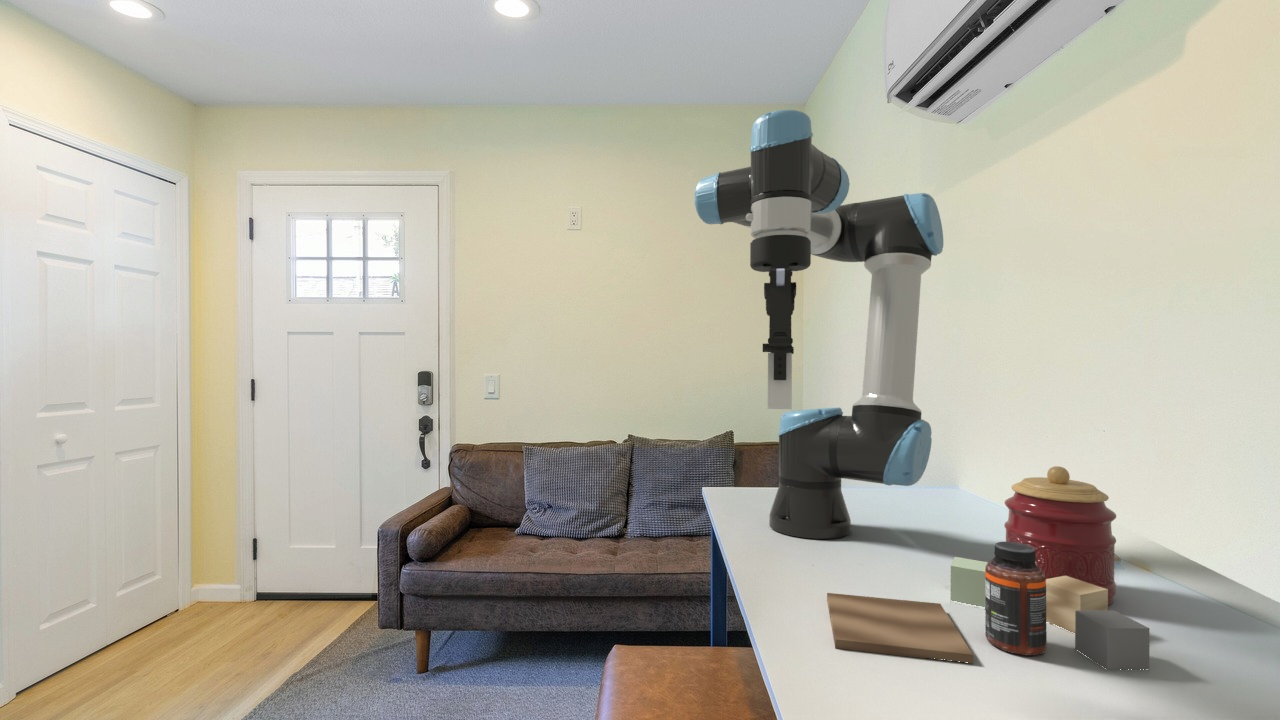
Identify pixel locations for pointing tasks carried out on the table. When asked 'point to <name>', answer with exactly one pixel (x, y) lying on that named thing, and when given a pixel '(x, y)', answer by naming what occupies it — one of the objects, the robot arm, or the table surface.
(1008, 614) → the supplement bottle
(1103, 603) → the beech block
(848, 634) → the plate
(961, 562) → the sage block
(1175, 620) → the table surface
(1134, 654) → the grey block
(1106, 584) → the canister
